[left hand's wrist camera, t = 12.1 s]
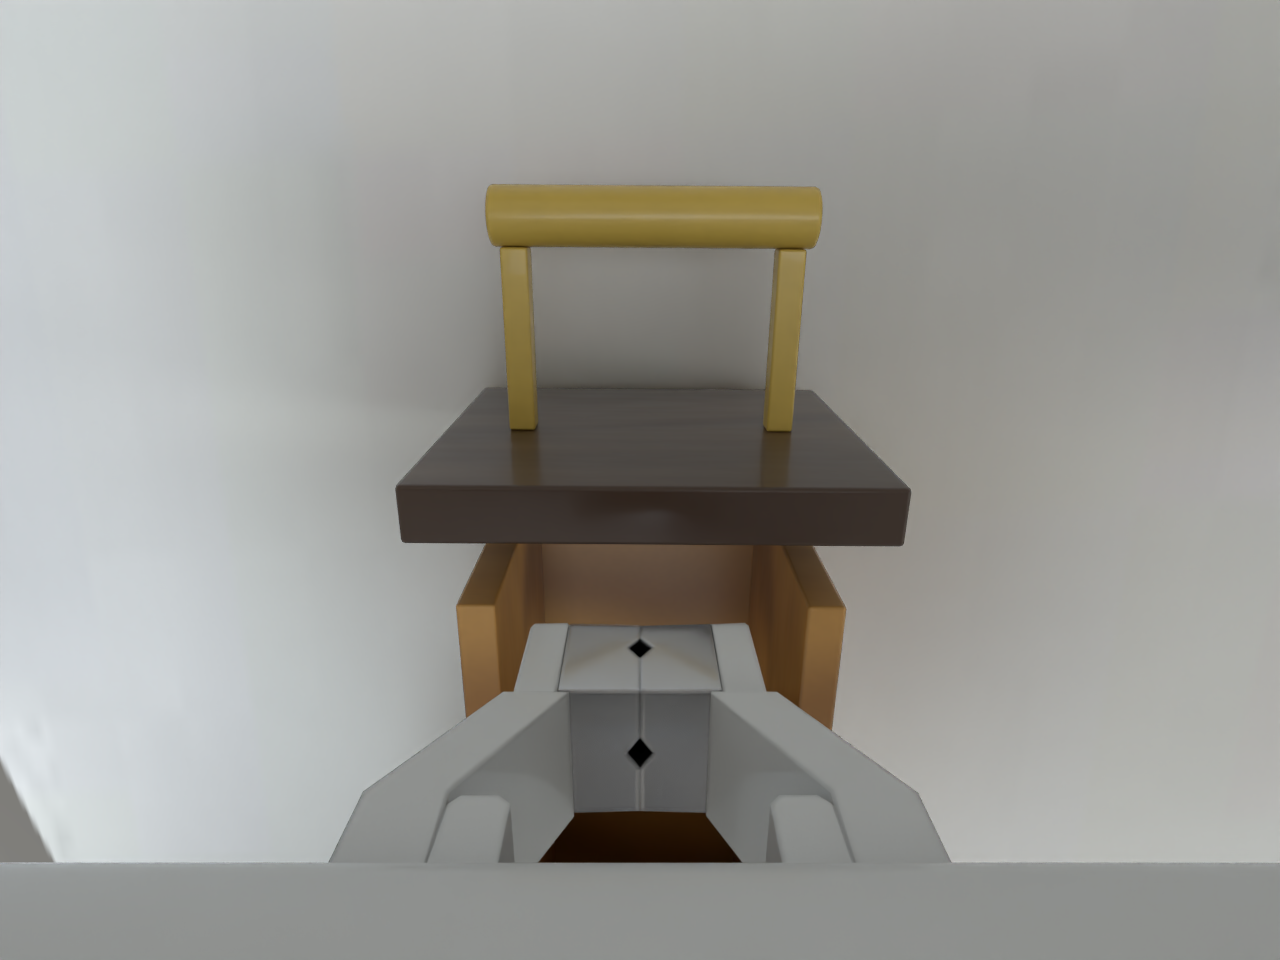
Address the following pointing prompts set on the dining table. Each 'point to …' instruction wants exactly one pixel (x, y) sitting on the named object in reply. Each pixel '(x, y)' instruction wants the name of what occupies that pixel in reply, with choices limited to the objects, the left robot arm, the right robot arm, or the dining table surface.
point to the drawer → (652, 485)
